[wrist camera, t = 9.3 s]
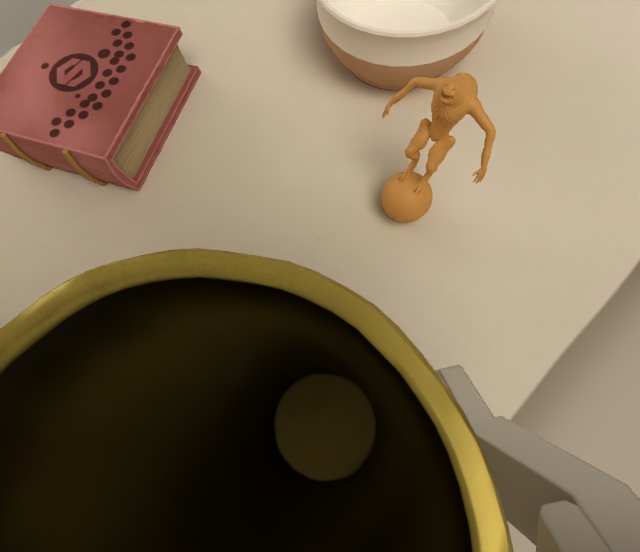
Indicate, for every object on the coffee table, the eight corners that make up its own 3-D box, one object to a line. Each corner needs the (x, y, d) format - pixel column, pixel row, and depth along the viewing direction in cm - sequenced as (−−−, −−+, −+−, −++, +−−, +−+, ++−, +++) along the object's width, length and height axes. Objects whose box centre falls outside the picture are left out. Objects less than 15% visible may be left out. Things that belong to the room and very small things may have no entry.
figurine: (351, 195, 32) (349, 87, 21) (398, 151, 33) (420, 24, 22) (426, 256, 30) (469, 172, 19) (473, 207, 31) (542, 98, 20)
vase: (252, 363, 17) (-125, 254, 4) (382, 343, 17) (465, 147, 4) (264, 512, 15) (-407, 1326, 2) (411, 492, 15) (833, 1312, 2)
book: (11, 164, 37) (-40, 130, 32) (85, 48, 41) (49, 3, 36) (134, 199, 34) (99, 167, 30) (201, 72, 38) (179, 26, 33)
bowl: (294, 24, 39) (279, -64, 32) (431, -32, 40) (448, -131, 32) (359, 137, 34) (360, 65, 27) (514, 71, 35) (558, -18, 27)
